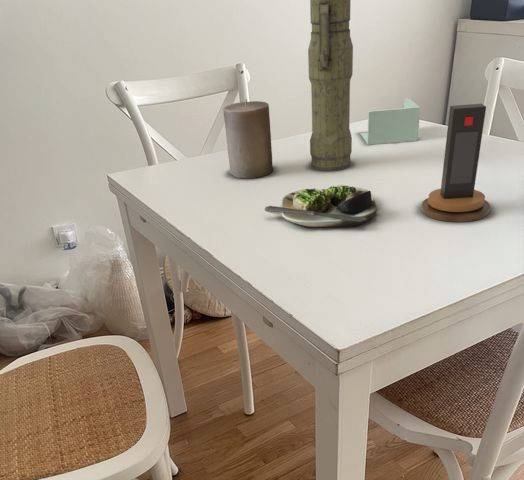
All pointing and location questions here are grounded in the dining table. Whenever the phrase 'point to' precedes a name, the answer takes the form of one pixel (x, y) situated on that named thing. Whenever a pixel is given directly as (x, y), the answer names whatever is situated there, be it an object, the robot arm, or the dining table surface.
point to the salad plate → (327, 207)
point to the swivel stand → (455, 213)
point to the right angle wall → (393, 124)
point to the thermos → (330, 84)
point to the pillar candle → (248, 139)
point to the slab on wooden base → (461, 161)
